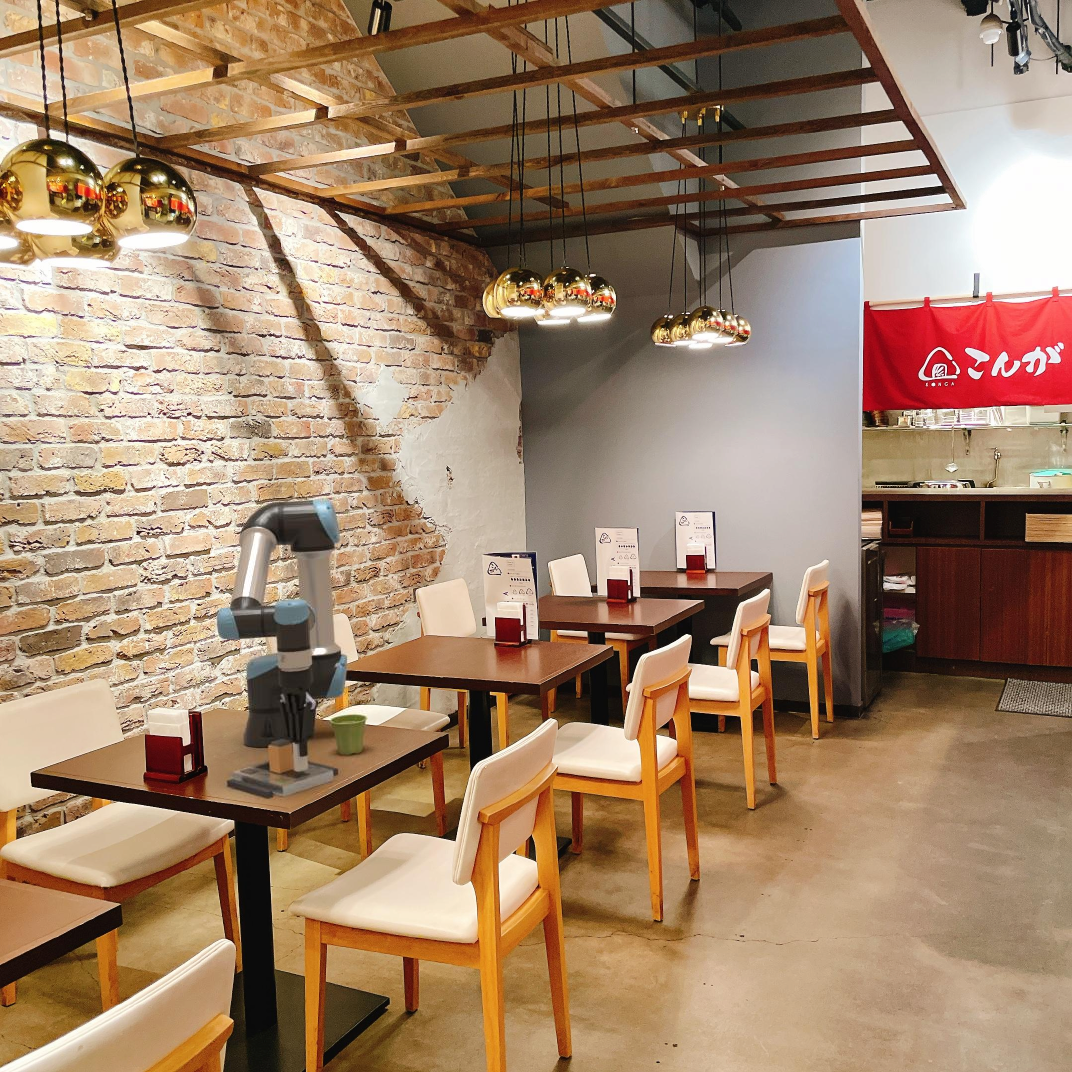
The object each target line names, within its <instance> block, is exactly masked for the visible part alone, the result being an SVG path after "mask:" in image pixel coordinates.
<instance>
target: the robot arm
mask: <svg viewBox="0 0 1072 1072" xmlns="http://www.w3.org/2000/svg"><path fill="white" fill-rule="evenodd" d="M333 504H334V503H332V502H331V501H329V500H324V499H309V500H296V501H295V500H294V501H274V502H270V503H268V504H265V505H263V506H261V507H260V508H258V509H257V510H255V511H254V512H253V513H252V514H251V515H250V516H249V517H248V518H247V520H246V521H245V523H244V524H243V526H242V527H241V530H240V533H239V538H238V544H239V546H240V553H239V554H240V555H239V560H238V564H237V569H236V575H235V580H234V584H233V589H232V593H231V594H232V595H231V600H230V605H229V606H227V607H221V608H220V609H219V610H218V612H217V616H216V628H217V632H218V636H219V637H220V639H223V640H247V639H258V638H260V639H261V638H276V651H277V652H274V653H269V654H265V655H261V656H258V657H255V658H253V659H251V660H250V661H249V662H247V664H246V677H245V679H246V685H247V701H248V717H247V721H246V724H245V729H244V732H243V744H244V745H246V746H248V747H251V748H252V747H253V748H268V745H271V742H272V741H276V740H280V739H285V740H289V741H290V743H291V744H292V752H293V757H294V771H297V772H299V771H302V770H305V769H308V761H309V760H308V742H309V741H311V740H314V738H315V737H314V736H315V735H314V734H315V725H316V717H317V715H316V714H317V708H318V706H319V700H324V699H325V700H328V699H334V698H335V699H337V698H341V697H342V695H343V694H344V692H345V689H346V681H347V671H348V670H347V669H348V656H347V654H345V653H342V648H341V646H339V644H337V643H336V641H335V639H336V638H335V625H334V622H335V621H334V610H333V609H334V608H333V591H332V575H331V573H332V572H331V560H330V556H331V555H332V554H333V552H334V551H335V549H336V548H335V547H336V545H335V544H338V543H339V542H340V540H341V534H340V527H339V522H338V521H339V520H338V517H337V514H336V509H335V507H334V505H333ZM277 546H290V553H291V554H292V555H293V556H294V557H295V558H296V562H297V576H298V577H297V578H298V579H297V581H298V591H299V598H298V599H297V598H296V599H295V598H294V599H284V600H279V601H278V602H276V603H275V604H274V605H273V604H271V605H264V602H265V596H266V595H265V594H266V590H267V589H266V588H267V583H268V576H269V570H270V564H271V557H272V553H274V552H275V550H276V548H277Z"/></svg>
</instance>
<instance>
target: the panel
mask: <svg viewBox="0 0 1072 1072" xmlns="http://www.w3.org/2000/svg"><path fill="white" fill-rule="evenodd" d="M334 778H335V777H334V776H333V770H330V769H326V768H322V767H318V766H314V765H310V764H308V769H305V770H302V771H299V772H297V771H294V769H293V770H290V771H286V772H283V773H277V772H273V771H270V764H269V760H268V761H264V762H261V763H257V764H254V765H251V766H247V767H244V768H241V769H236V770H234V771H231V779H234V780H238V781H241V782H244V783H248V784H251V785H255V786H258V787H262V788H265V789H269V790H272V791H273V795H277V796H278V797H282V798H283V797H284V798H285V797H287V796H290V795H293V794H296V793H299V792H303V791H306V790H309V789H311V788H315V787H317V786H320V785H324V784H327V783H331V782H333V781H334V780H335V779H334Z"/></svg>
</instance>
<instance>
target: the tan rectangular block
mask: <svg viewBox="0 0 1072 1072" xmlns="http://www.w3.org/2000/svg"><path fill="white" fill-rule="evenodd" d="M267 748H268V761H269V764H270V771H273V772H277V773H283V772H286V771H290V770H293V769H294V757H293V752H292V743H290V741H289V740H285V739H280V740H276V741H272V742H271V745H268V747H267Z"/></svg>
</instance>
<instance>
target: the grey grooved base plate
mask: <svg viewBox="0 0 1072 1072" xmlns="http://www.w3.org/2000/svg"><path fill="white" fill-rule="evenodd" d="M307 761H308V764H310V765H314V766H318V767H322V768H326V769H330V770H333V777H334V776H337V775H339V769H338V767H334V766H329V765H325V764H321V763H319V762H318V763H317V762H314V761H313V762H312V761H309V760H307ZM226 787H229V788H232V789H235V790H238V791H241V792H245V793H248V794H251V795H254V796H257V797H262V798H264V799H270V798H273V797H274V794H273V791H272V790H269V789H265V788H262V787H258V786H255V785H251V784H248V783H244V782H241V781H238V780H234V779H232V778H230V779H227V780H226Z"/></svg>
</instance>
